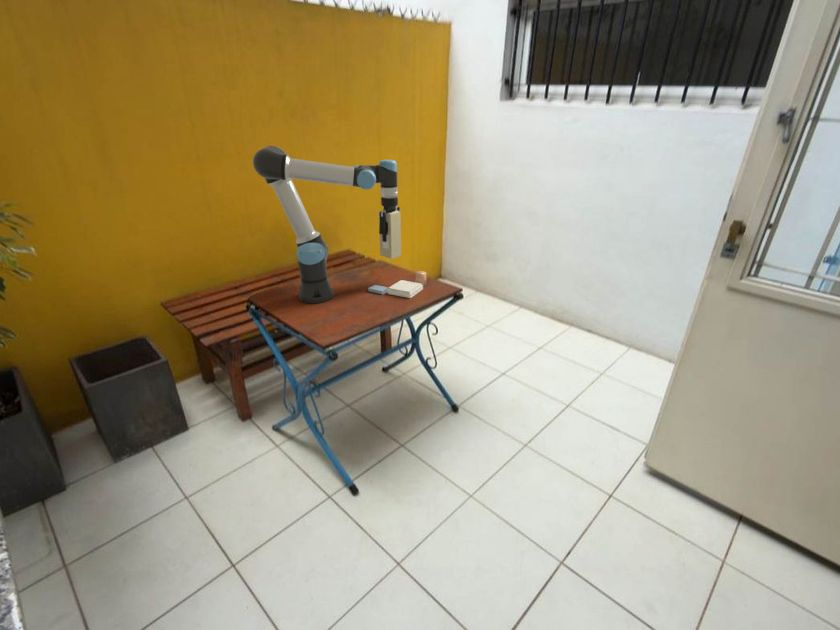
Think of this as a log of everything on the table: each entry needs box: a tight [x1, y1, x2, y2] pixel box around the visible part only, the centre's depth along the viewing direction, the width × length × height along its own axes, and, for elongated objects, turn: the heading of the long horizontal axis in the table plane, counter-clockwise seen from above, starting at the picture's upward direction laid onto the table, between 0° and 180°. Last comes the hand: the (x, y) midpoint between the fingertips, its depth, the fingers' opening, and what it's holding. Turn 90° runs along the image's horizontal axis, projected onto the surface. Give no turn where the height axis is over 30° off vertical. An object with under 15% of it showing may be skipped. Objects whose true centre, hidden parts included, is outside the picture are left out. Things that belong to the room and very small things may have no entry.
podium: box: [386, 279, 424, 299], centre depth 198 cm, size 12×12×3 cm
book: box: [367, 284, 389, 295], centre depth 199 cm, size 8×5×2 cm, turn 59°
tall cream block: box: [378, 210, 402, 260], centre depth 201 cm, size 8×7×21 cm
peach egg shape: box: [415, 270, 427, 287], centre depth 204 cm, size 5×5×6 cm
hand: (390, 245), depth 203 cm, fingers closed on tall cream block, 8 cm apart
